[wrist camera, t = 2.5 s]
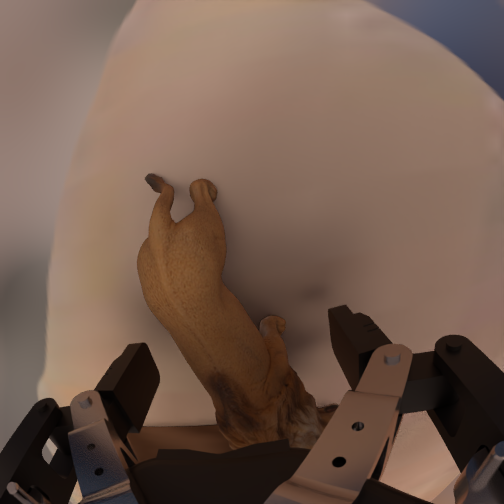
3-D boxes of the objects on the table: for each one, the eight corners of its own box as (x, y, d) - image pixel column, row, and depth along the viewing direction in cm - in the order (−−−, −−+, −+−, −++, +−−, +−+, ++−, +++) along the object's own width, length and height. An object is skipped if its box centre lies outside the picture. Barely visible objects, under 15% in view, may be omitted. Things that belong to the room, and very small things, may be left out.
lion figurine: (336, 356, 16) (387, 471, 7) (264, 395, 17) (271, 514, 8) (189, 145, 13) (103, 92, 5) (114, 207, 14) (-12, 238, 5)
